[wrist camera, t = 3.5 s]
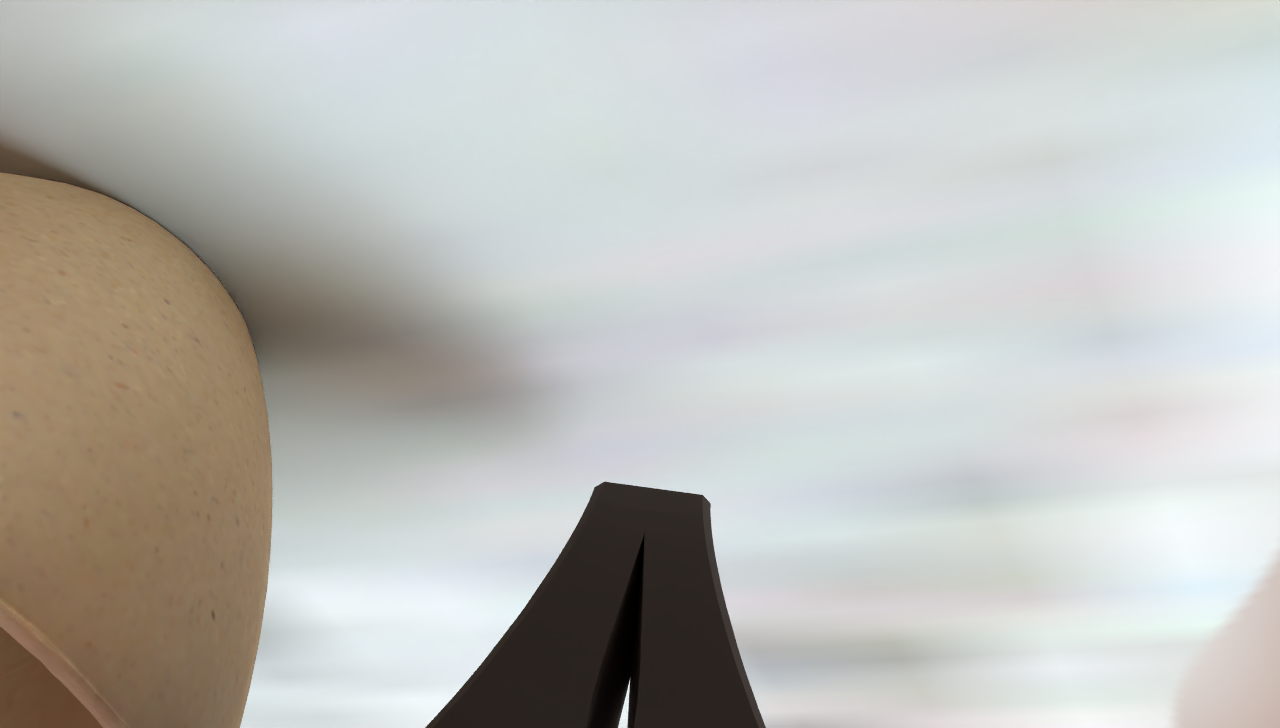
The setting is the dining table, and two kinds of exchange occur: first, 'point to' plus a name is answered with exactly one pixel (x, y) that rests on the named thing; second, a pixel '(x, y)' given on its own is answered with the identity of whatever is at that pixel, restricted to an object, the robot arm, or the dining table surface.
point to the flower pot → (124, 472)
